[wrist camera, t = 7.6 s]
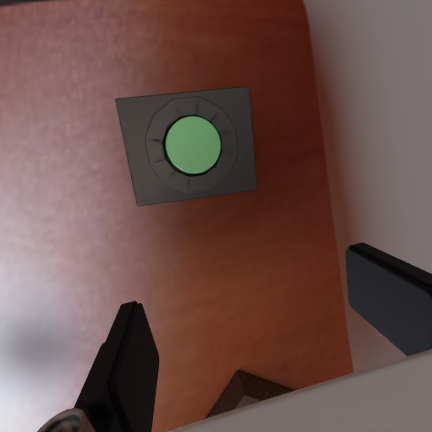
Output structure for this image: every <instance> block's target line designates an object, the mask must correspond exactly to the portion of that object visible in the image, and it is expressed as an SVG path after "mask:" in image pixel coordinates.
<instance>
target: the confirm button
mask: <svg viewBox="0 0 432 432" xmlns="http://www.w3.org/2000/svg"><path fill="white" fill-rule="evenodd" d="M166 150H167V153H168V156H169V158H170V160H171V161H172V163H173V164H174V165H175V166H176V167H177V168H179V169H180V170H182V171H185V172H188V173H201V172H204V171H206V170H208V169H209V168H211V167H212V166H213V165H214V164H215V162H216V161H217V159H218V157H219V154H220V150H221V142H220V137H219V134H218V132H217V130H216V129H215V127H214V126H213V125H212V124H211V123H210V122H208V121H207V120H205V119H203V118H201V117H196V116H189V117H185V118H182V119H180V120H178V121H177V122H176V123H175V124H174V125H173V126H172V127H171V128H170V130H169V132H168V135H167V138H166Z"/></svg>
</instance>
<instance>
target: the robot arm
mask: <svg viewBox="0 0 432 432" xmlns="http://www.w3.org/2000/svg"><path fill="white" fill-rule="evenodd" d="M346 268H347V284H348V298H349V303H350V305H351V307H352V308H353V309H354V310H355V311H356V312H357V313H358V314H360V315H361V316H362V317H363V318H364V319H365V320H366V321H368V322H369V323H370V324H371V325H372V326H373V327H374V328H376V329H377V330H378V331H379V332H380V333H381V334H382V335H383V336H385V337H386V338H387V339H388V340H389V341H390V342H391V343H393V344H394V345H395V346H396V347H397V348H398V349H400V350H401V351H402V352H403V353H404V354H405V355H406V356H407V357H404V358H401V359H398V360H394V361H391V362H388V363H384V364H381V365H378V366H374V367H371V368H368V369H364V370H361V371H358V372H354V373H351V374H348V375H345V376H341V377H338V378H335V379H331V380H328V381H325V382H322V383H318V384H315V385H312V386H309V387H305V388H302V389H299V390H296V391H292V392H289V393H286V394H283V395H279V396H276V397H273V398H270V399H267V400H263V401H260V402H257V403H254V404H251V405H247V406H244V407H241V408H238V409H235V410H231V411H228V412H225V413H222V414H219V415H215V416H212V417H209V418H206V419H203V420H200V421H197V422H194V423H191V424H188V425H185V426H182V427H179V428H176V429H173V430H170V431H167V432H432V274H431V273H428V272H426V271H424V270H422V269H420V268H418V267H415V266H413V265H411V264H409V263H406V262H405V261H402V260H400V259H398V258H396V257H394V256H391V255H389V254H387V253H385V252H383V251H381V250H378V249H376V248H374V247H372V246H370V245H368V244H365V243H358V244H355V245H350V246H349V247H348V250H346ZM158 370H159V354H158V351H157V348H156V345H155V342H154V339H153V336H152V333H151V330H150V327H149V324H148V321H147V317H146V314H145V311H144V308H143V306H142V304H141V303H139V304H138V303H137V302H136V301H133V302H129V303H125V304H122V305H121V306H120V309H119V311H118V313H117V316H116V318H115V320H114V323H113V325H112V327H111V330H110V332H109V334H108V337H107V339H106V342H105V343H103V344H102V345H101V347H100V349H99V352H98V354H97V356H96V358H95V361H94V363H93V365H92V368H91V370H90V372H89V374H88V377H87V379H86V381H85V383H84V386H83V388H82V390H81V393H80V395H79V397H78V399H77V402H76V404H75V406H74V408H72V409H67V410H65V411H63V412H61V413H59V414H57V415H56V416H54V417H53V418H51V419H50V420H49V421H48V422H46V423H45V424H44V425H43V426H42V427H41V428H40V429H39V430H38V432H151V430H152V422H153V413H154V404H155V396H156V387H157V378H158Z"/></svg>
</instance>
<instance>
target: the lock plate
mask: <svg viewBox="0 0 432 432" xmlns="http://www.w3.org/2000/svg"><path fill="white" fill-rule="evenodd" d="M292 391H293V390H290V389H288V388H285V387H282V386H279V385H277V384H274V383H271V382H268V381H266V380H263V379H260V378H258V377H255V376H252V375H249V374H247V373H244V372H241V371H237V373H236V374H235V376H234V377H233V379H232V380H231V382H230V383H229V385H228V386H227V388H226V389H225V391H224V392H223V394H222V395H221V397H220V398H219V400H218V401H217V403H216V404H215V406H214V407H213V409H212V411H211V412H210V414H209V415H208V417H207V418H209V417H212V416H215V415H219V414H222V413H225V412H228V411H231V410H235V409H238V408H241V407H244V406H247V405H251V404H254V403H257V402H260V401H263V400H267V399H270V398H273V397H276V396H279V395H283V394H286V393H289V392H292ZM295 391H296V390H295Z"/></svg>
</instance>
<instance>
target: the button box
mask: <svg viewBox="0 0 432 432" xmlns="http://www.w3.org/2000/svg"><path fill="white" fill-rule="evenodd" d="M115 101H116V106H117V110H118V115H119V120H120V125H121V130H122V135H123V139H124V144H125V149H126V154H127V159H128V164H129V168H130V173H131V178H132V183H133V188H134V193H135V197H136V202H137V206H144V205H151V204H158V203H165V202H173V201H180V200H187V199H194V198H201V197H208V196H215V195H222V194H229V193H236V192H243V191H250V190H256V189H257V182H256V169H255V155H254V142H253V129H252V116H251V103H250V89H249V87H248V86H247V87H237V88H226V89H215V90H204V91H193V92H182V93H172V94H161V95H150V96H139V97H128V98H118V99H115ZM189 116H196V117H201V118H203V119H205V120H207V121H208V122H210V123H211V124H212V125H213V126H214V127H215V129H216V130H217V132H218V134H219V137H220V142H221V150H220V154H219V157H218V159H217V161H216V162H215V164H214V165H213V166H212V167H211V168H209V169H208V170H206V171H204V172H201V173H188V172H185V171H182V170H180V169H179V168H177V167H176V166H175V165H174V164H173V163H172V161H171V160H170V158H169V156H168V153H167V150H166V138H167V135H168V132H169V130H170V128H171V127H172V126H173V125H174V124H175V123H176V122H177V121H178V120H180V119H182V118H185V117H189Z"/></svg>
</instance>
